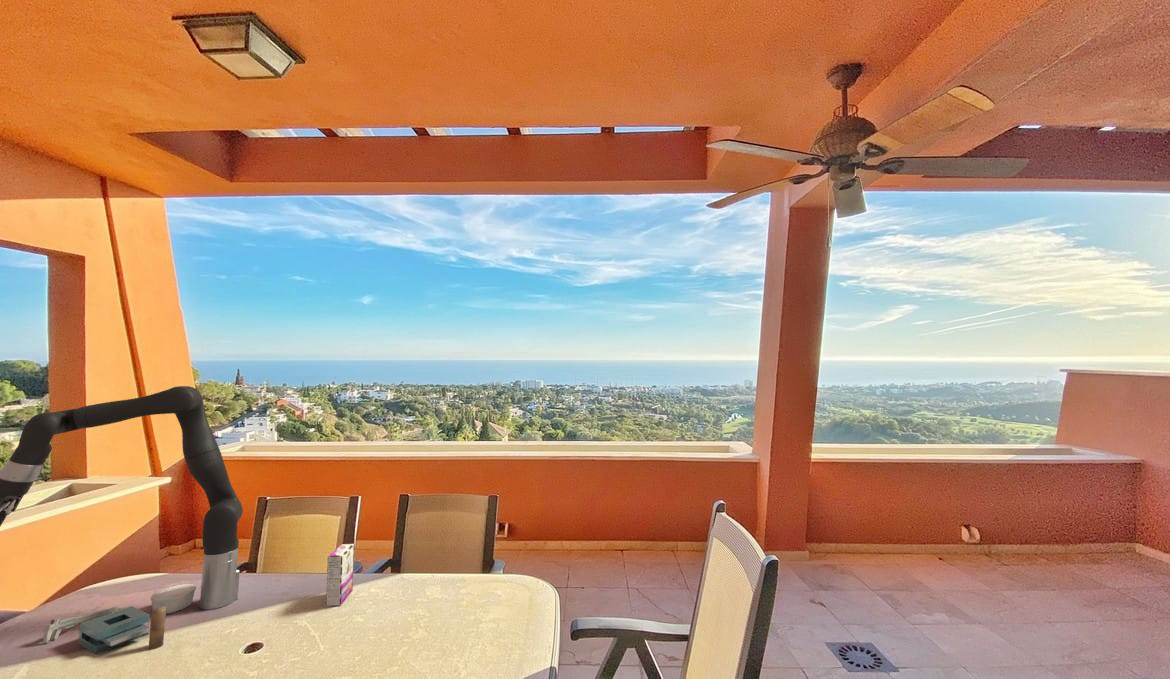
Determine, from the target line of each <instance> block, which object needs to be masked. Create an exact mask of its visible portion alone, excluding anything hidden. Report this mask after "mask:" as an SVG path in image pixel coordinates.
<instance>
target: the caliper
mask: <svg viewBox="0 0 1170 679" xmlns="http://www.w3.org/2000/svg"><path fill="white" fill-rule="evenodd" d="M122 609H123V607H122V606H119V605H118V606H116V605H115V606H112V607H108V608H105V609H100V610H98V611H95V612H92V613H88V614H85V615H84V614H83V615H80V616H78V617H77V616H74V617H72V616H71V617H68V618H64V619H61V620H60V617H56V618H55V619H51V620H50V623H49V624H47V625H46V628H45V630H44V633H43V642H42V643H43V644H49V643H50V641H51V640H54V641H56V640H57V639H58V637H59V636H60V634H61V632H62V630H63V629H66V630H67V629H71V628H75V626H76V624H79V623H80V624H81V623H83V622H86V621H89V620H92V619H95V618H98V617H101V616H104V615H107V614H110V613H112V612H114V611H115V612H116V610H117V611H119V610H122ZM55 639H56V640H55Z"/></svg>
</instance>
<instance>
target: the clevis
mask: <svg viewBox="0 0 1170 679" xmlns="http://www.w3.org/2000/svg"><path fill="white" fill-rule="evenodd" d="M150 614H151V613H147V612H146V611H143V610H141V609H140V608H139V609H138V608H137V607H135V606H132V605H130V606H128V607H125V608H121V609H118V610H117V611H115V612H113V613H110V614H106V615H103V616H99V617H96V618H93V619H89V620H86V621H83V622H80V624H79V625H80V626H79V636H78V644H79V645H80V646H82V647H84V648H85V649H86V650H88V651H90V652H91V653H93V654H95V655H97V654H100V653H103V652H105V651H108V650H110V649H114V648H115V647H118V646H119V647H120V645H123V644H126V643H129V642H131V641H133V640H136V639H139V638H141V637H144V636H146V635H149V633H150V627H149V626H148V625H146V624H147V623H150V620H151V615H150Z"/></svg>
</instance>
